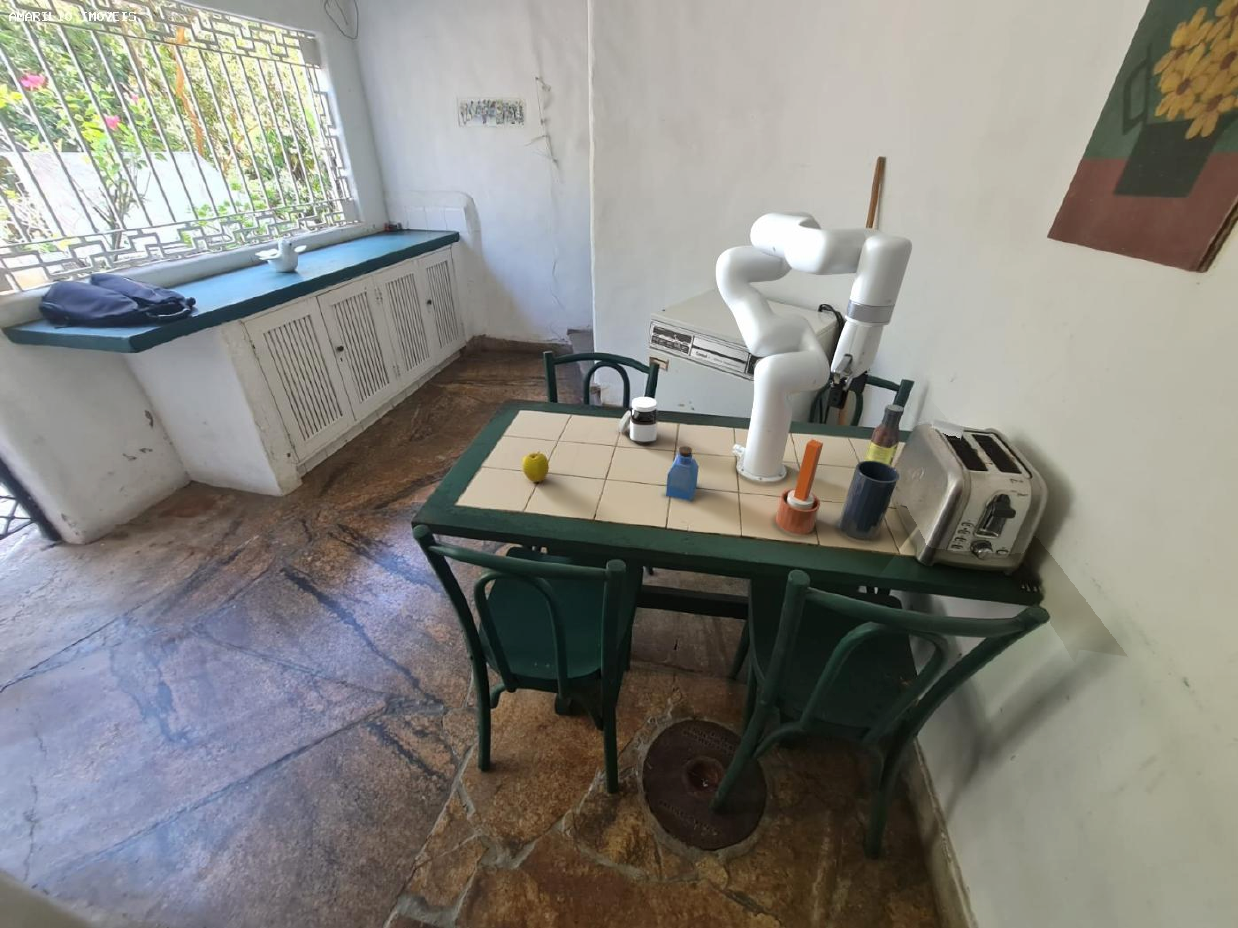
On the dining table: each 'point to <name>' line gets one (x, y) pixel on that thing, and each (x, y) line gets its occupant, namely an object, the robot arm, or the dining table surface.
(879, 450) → the sauce bottle
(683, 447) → the perfume bottle
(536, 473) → the apple
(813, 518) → the brush holder
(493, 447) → the dining table surface
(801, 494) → the brush
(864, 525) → the dark blue cylindrical vase
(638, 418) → the spread jar
